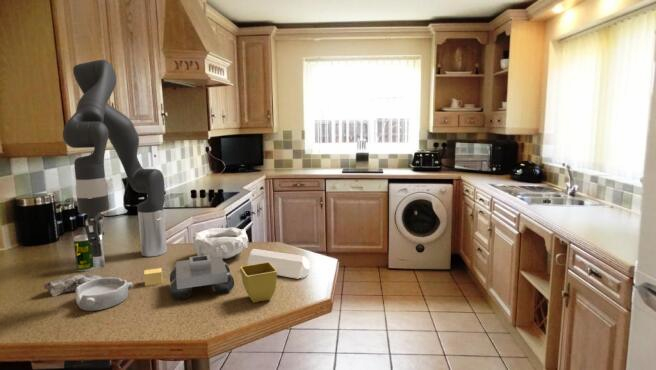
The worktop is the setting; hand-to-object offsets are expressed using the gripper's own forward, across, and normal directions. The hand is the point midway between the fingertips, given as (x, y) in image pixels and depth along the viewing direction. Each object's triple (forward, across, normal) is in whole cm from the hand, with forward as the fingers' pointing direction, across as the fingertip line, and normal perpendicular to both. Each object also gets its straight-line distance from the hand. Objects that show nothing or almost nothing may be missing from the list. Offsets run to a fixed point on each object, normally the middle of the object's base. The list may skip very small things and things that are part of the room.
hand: (98, 254), depth 116 cm
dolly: (+14, +2, +27) cm, 31 cm away
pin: (+4, 0, 0) cm, 4 cm away
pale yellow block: (+14, -9, +13) cm, 21 cm away
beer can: (+14, -32, -10) cm, 36 cm away
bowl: (+14, -26, +36) cm, 47 cm away
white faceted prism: (+14, -3, +52) cm, 54 cm away
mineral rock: (+14, -14, -10) cm, 22 cm away
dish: (+14, 0, 0) cm, 14 cm away
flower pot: (+14, +16, +42) cm, 47 cm away
